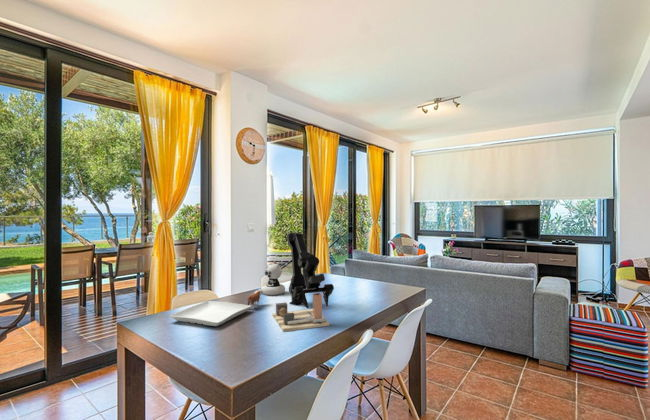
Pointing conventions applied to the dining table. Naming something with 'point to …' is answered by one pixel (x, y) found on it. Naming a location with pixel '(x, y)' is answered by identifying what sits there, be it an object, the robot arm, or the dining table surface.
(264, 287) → the decorative figurine
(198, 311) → the square plate
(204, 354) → the dining table surface
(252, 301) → the bull figurine
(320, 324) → the press base
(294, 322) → the slider
